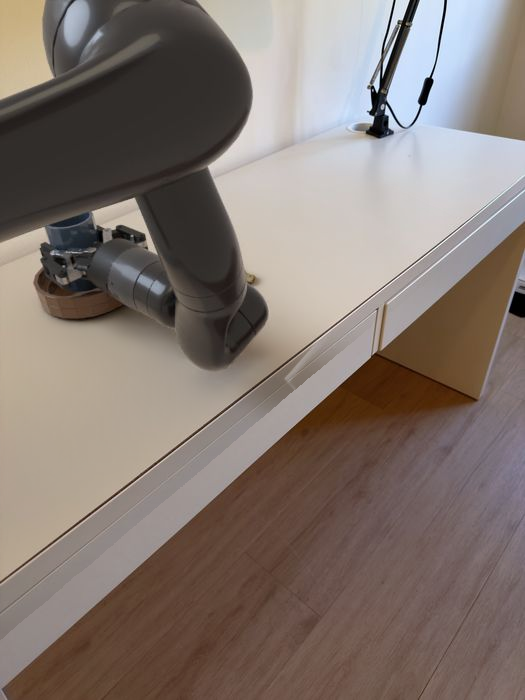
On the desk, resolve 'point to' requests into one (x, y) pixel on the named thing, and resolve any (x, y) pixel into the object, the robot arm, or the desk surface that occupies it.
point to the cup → (74, 241)
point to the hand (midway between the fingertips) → (67, 239)
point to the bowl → (71, 299)
